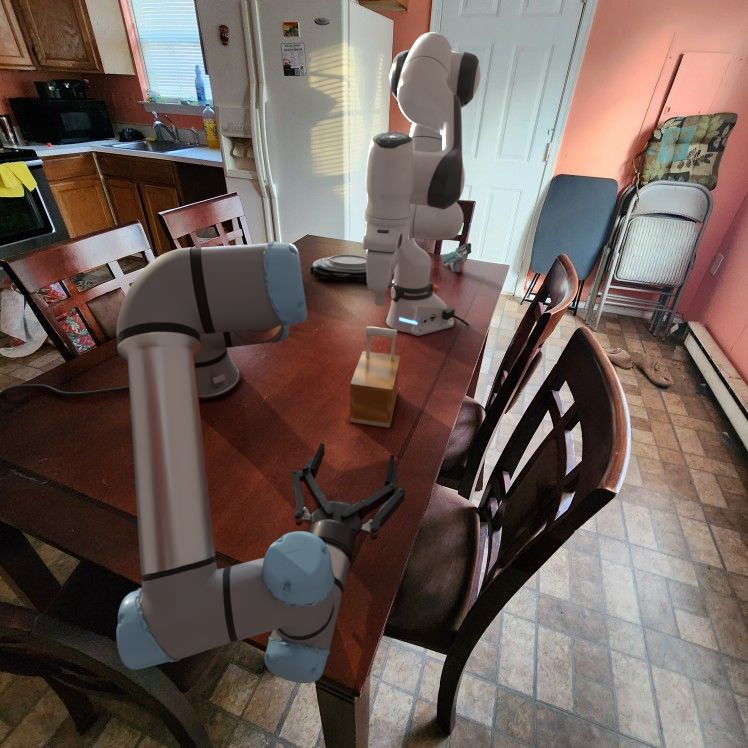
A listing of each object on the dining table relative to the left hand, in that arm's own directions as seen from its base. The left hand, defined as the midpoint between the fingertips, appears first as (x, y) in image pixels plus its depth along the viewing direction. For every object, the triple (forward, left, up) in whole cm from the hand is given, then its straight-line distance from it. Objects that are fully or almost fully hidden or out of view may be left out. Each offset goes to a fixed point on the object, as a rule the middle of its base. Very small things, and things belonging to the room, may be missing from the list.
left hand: (357, 453), depth 79 cm
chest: (0, +22, -6) cm, 23 cm away
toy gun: (+17, +120, -6) cm, 122 cm away
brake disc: (-26, +107, -6) cm, 110 cm away
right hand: (0, +27, +21) cm, 34 cm away
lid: (0, +22, +4) cm, 23 cm away
